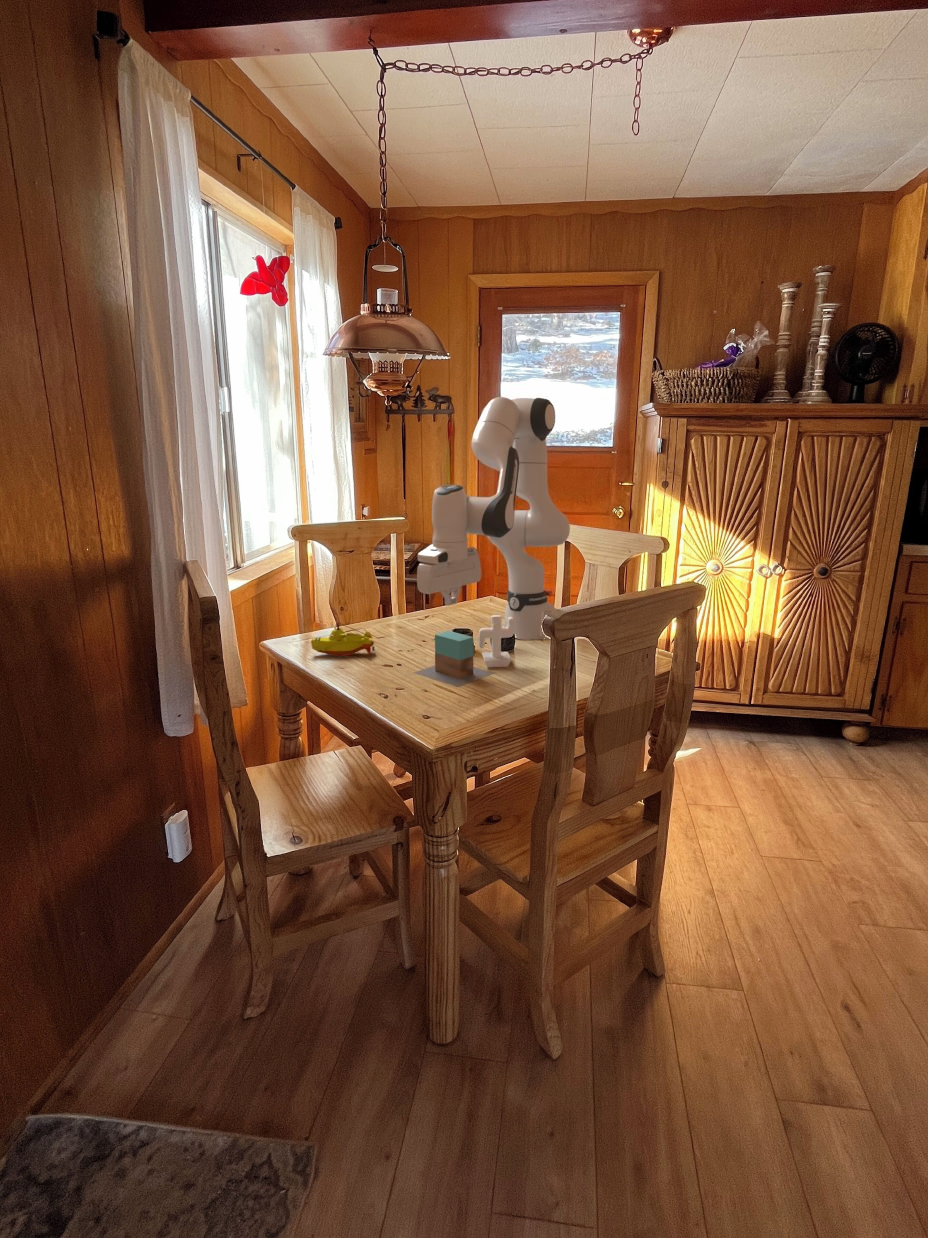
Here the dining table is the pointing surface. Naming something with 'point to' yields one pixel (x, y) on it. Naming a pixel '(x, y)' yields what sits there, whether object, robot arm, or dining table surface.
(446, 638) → the teal block
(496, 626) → the figurine
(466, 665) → the walnut block
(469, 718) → the dining table surface
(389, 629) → the dining table surface
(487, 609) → the dining table surface
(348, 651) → the toy boat
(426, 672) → the baseplate
